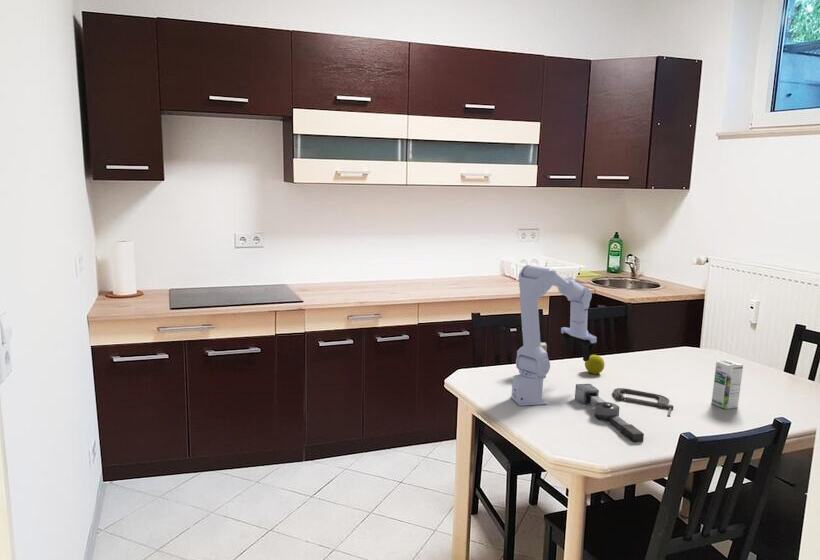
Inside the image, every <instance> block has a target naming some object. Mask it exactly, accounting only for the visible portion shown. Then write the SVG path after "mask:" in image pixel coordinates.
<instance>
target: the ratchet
mask: <svg viewBox="0 0 820 560" xmlns="http://www.w3.org/2000/svg"><path fill="white" fill-rule="evenodd" d="M590 404H591V405H590V406H593V407H594V416H593V417H594V418H595V419H597V420H598V421H601V422H607V423H609V424H610V425H611V426H612V427H614V428H615V429H616V430H617V431H619V432H620V434H622V435H623V436H624V437H626V439H628V440H629V441H631V442H632V443H640V442H644V438H645V437H644V435H645V433H644V432H642V431H641V430H640V429H639V428H637V427H636V426H634V425H633V424H630V423H627V421H625V420H624V419H622V418H621V417H620V406H619V405H618V404H616V403H613V402H609V401H605V400H604V399H602V398H601V397H600V396H599V395H598V396H591V403H590Z"/></svg>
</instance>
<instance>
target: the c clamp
mask: <svg viewBox="0 0 820 560" xmlns="http://www.w3.org/2000/svg"><path fill="white" fill-rule="evenodd" d="M612 394H613V396H614V397H615V398H616V399H617V401H618V402H619V401H626V402H630V403H635V404H639V405H646V406H651V407H657V408H658V409H667V410H668V412H667V413H668V414H667V417H669V418H670V417H671V413H672V410H674V405H673V404H669V402H670V399H669V398H668V397H666V396H664V395H662V394H657V393H651V392H645V391H642V390H641V391H640V390H636V389H631V388H624V387H623V388H622V387H620V388H618V387H617V388H615V389H613V391H612ZM624 394H629V395H633V396H639V397H645V398H646V397H647V398H650V399H655V400H657V402H656V401H651V400H650V401H649V400H646V399H640V398H634V397H628V396H624Z"/></svg>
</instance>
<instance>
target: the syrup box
mask: <svg viewBox="0 0 820 560" xmlns="http://www.w3.org/2000/svg"><path fill="white" fill-rule="evenodd" d="M743 369H744V364H740V363H737V362H734V361H732V360H727V359H722V360H717V361H716V363H715V370H714V380H713V387H712V396H711V401H710V402H711V404H712V405H715V406H718V407H719V408H722V409H724V410H729V409H734V408H738V407H739V401H740V394H741V393H740V392H741V385H742V384H741V383H742V379H743V378H742V377H743Z"/></svg>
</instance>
